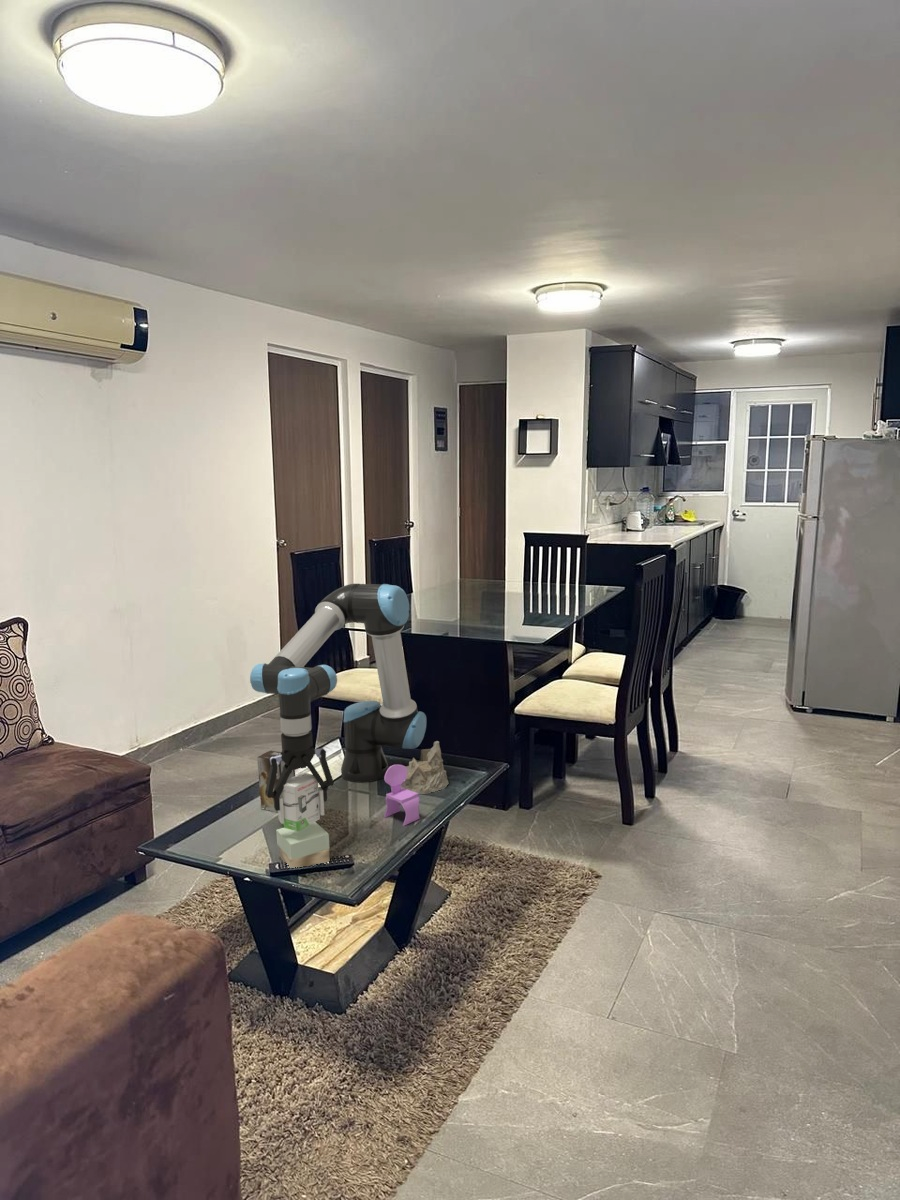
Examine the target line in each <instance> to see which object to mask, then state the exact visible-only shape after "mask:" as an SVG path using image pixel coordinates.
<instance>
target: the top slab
mask: <svg viewBox="0 0 900 1200" xmlns="http://www.w3.org/2000/svg"><path fill="white" fill-rule="evenodd" d="M275 832H276V844H277V846H278V847H279V849H280V848H281V849H282V850H283V851H284V852H285V853H286V854H287V855H288V857H289V858H290V859H291V860H293V859H297V858H300V857H304V856H307V855H311V854H314V853H317V852H321V851H324V850H328V849H329V850H330V834H329V833H328V832H327V831H326V830H325V829H324V828H323V827H322V826H321V825H319V824H318V822H317V821H315V822H314V823H312V824H310V825H308V826H307V827H305V828H303V829H301V830H299V831H294V830H290V829H287V828H284V827H281V828H279V829H276V831H275Z"/></svg>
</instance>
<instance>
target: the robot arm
mask: <svg viewBox="0 0 900 1200" xmlns="http://www.w3.org/2000/svg"><path fill="white" fill-rule="evenodd" d="M409 611H410V601H409V598H408V595H407V593H406V591H405V590H404V589H403V588H401V587H400V586H398V585H394V584H393V585H392V584H388V583H383V584H380V583H378V584H375V583H374V584H373V583H350V584H346V585H343V586H342V587H339V588H337V589H335V590H334V591H332V592H331V593H330V594H328V595H326V596H325V597H324V598H323V599H322V600H321V601H320V602H319V603H318V604H317V606H316V607H315V609H314V613H313V614H312V616H311V617H310V618H309V619H308V620H307V621H306V623H304V625H303V626H302V627H300V629H299V630H298V631H297V632H296V633H295V635H294V636H292V638H291V639H290V640H289V641H288V642H287V643H286V644H285V645H284V646H283V647H282V649H280V651H279V652H278V653H277V654H276V655H275V656H274V657H273V659H272V660H271V661H270V662H269V663H265V662H264V663H258V664H256V665H255V666H254V667H253V668H252V670H250V671H251V672H250V677H249V683H250V685H251V687H252V690H254V692H258V693H264V694H268V695H278V705H279V718H280V719H279V720H280V732H281V735H280V740H281V741H280V742H281V755H279V756H275V757H274V756H270V758H269V760H270V770H269V775H268V780H267V785H266V790H265V794H266V795H267V797H268V798H273V802H274V808H275V810H276V811H278V814H277V815H278V821H279V823H280V824H281V825H283V824H284V809H283V798H282V797H281V793H282V791H283V788H284V785H285V784H286V782H287V780H288V777H289V775H290V774H291V772H292V770H295V771H296V770H299V769H306V768H307V769H308V770H309V771H310V774H312V775H313V776H314V777H315V778H316V780H317V781H318V791H319V810H320V816H325V802H326V801H327V800H328V789H329V787H330V786H331V787H332V786H334V784H335V782H334V780H333V779H334V778H333V777H332V773H331V769H330V767H329V764H328V761H327V758H326V757H327V751H326V750H325V749H324V747H322V746H321V747H319V748H314V747H313V746H314V744H313V743H314V742H313V731H312V729H313V725H312V713H311V712H312V711H311V710H312V709H311V702H314V701H315V700H317V699H319V698H320V699H321V698H322V697H324V696H327V695H328V694H330V692H333V690H334V689H335V688H336V687H337V684H338V676H337V673H336V671H335V669H333V668H332V667H331V666H329V665H327V664H319V665H315V666H314V667H305V666H306V665H307V663H308V662H309V661H310V660H311V659H312V657H314V655H315V654H316V653H317V652H318V651H319V649H320V648H321V647H322V646H323V645H324V643H325V642H327V640H328V639H329V638H330V636H331V635H332V634H333V633H334V632H335V631H338V630H340V629H342V628H343V627H344V626H345V625H346V624H352V623H354V624H355V623H356V624H363V625H364V630H365V633H366V634H367V635H368V636H371V640H372V641H371V642H372V646H373V652H374V657H375V663H376V669H377V674H378V675H377V676H378V680H379V687H380V693H381V698H382V705H381V703H380V702H379V701H377V700H365V701H359V702H355V703H353V704H350V705H348V706H346V708H344V711H343V728H344V742H345V745H344V746H345V751H344V752H345V754H344V757H343V760H342V764H341V768H340V773H341V774H340V775H341V777H342V779H344V780H346V781H349V782H354V783H366V782H374V781H377V780H381V779H382V778H384V777H385V774H386V771H387V770H388V768H389V764H388V760H387V758H386V756H385V752H384V751H383V747H393V748H401V749H403V750H405V749H408V750H409V749H411V750H413V749H417V748H418V747H419V746H420V745H421V743H422V741H423V740H424V737H425V733H426V730H427V715H426V714H425V712H423V711H420V710H419V711H418V706H417V703H416V701H415V700H414V699H412V698H411V693H410V685H409V680H408V672H407V667H406V660H405V654H404V649H403V641H402V634H401V632H402V630H403V629H404V627H405V624H406V623H407V622H408V620H409V618H410V617H409V616H410V613H409ZM315 755H316V757H317V758H318V760H319V763H320V765H321V769H322V772H323V775H324V777H325V780H324V779H323V778H322V777H321V775H320V773H319V771H317V769H316V768H315V766H314V764H313V763H312V760H313V758H314V756H315ZM281 760H283V761H284V763H285V765H284V767H283V771H282V773H281V775H280V778H279V780H278V782H277V784H276V787H275V789H274V784H275V779H276V774H277V766H278V765H279V764H280V761H281ZM273 789H274V791H273Z"/></svg>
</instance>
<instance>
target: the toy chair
mask: <svg viewBox="0 0 900 1200" xmlns="http://www.w3.org/2000/svg"><path fill="white" fill-rule="evenodd" d="M406 767H407V766H405V765H403V764H393V765H390V766H388V770H387V771H386V774H385V777H383V778H384V779H383V780H384V782H385V783H386V784H387V785H389V787H390V789H391V792H388V793H386V794H385V796H386V797H385V803H386V810H385V812H384V815H383V816H382V817H383V819H386V818H387V817H390V816H392V815H394V814H397V813H399V812H401V806H402V808H403V810H404V812H405V813H404V814H405V818H404V821H403V823H402V826H403V827H404V826H406V825H410V824H411V823H413V822H415V821H417V820H419V819H421V818H420V813H419V806H420V797H419V794H418V793H416V792H413V791H410V790H408V789H405V788H401V784H402V783H403V782H404V781H405V780H406V776H407V768H406ZM400 805H401V806H400Z"/></svg>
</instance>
